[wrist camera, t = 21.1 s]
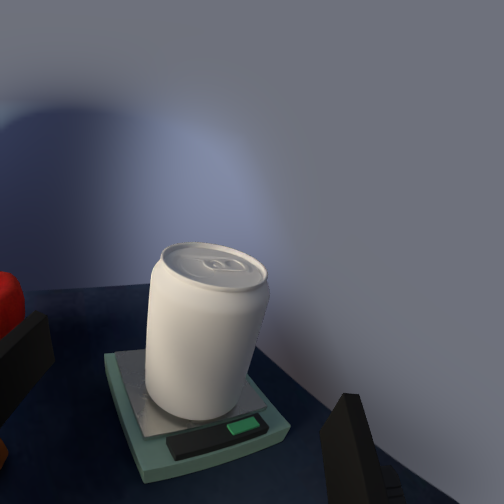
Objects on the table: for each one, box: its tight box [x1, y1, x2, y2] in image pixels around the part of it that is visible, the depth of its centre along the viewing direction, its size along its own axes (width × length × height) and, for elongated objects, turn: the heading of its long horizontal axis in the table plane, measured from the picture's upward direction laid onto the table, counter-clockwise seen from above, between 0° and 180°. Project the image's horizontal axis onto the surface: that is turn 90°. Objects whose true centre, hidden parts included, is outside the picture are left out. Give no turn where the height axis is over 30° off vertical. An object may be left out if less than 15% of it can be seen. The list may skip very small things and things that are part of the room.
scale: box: [104, 353, 291, 483], centre depth 24 cm, size 13×13×4 cm
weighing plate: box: [115, 349, 267, 441], centre depth 24 cm, size 10×11×1 cm
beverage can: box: [145, 242, 270, 420], centre depth 21 cm, size 8×8×12 cm
